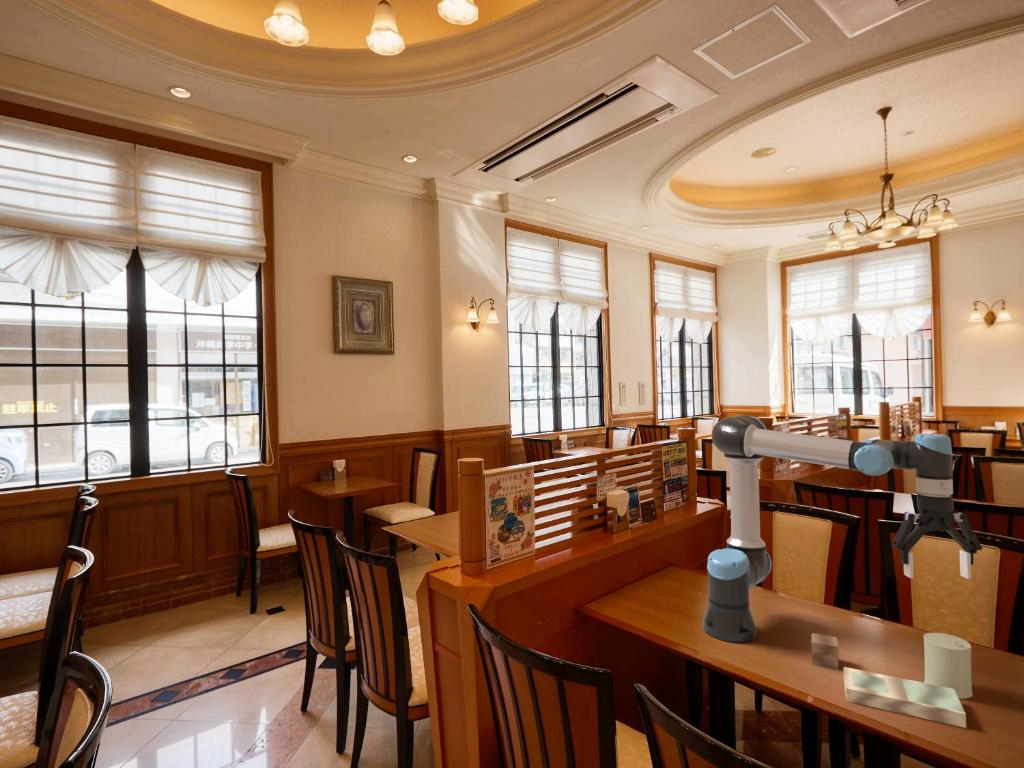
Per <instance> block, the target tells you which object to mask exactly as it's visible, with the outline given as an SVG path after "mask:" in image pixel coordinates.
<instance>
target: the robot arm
mask: <svg viewBox="0 0 1024 768" xmlns="http://www.w3.org/2000/svg"><path fill="white" fill-rule="evenodd" d="M711 440H712V443H713V446H715V448H716V449H717V450H719V451H720V452H721V453H723V455H724V456H723V457H724V459H725V460H727V462H728V463H729V464H728V465H729V490H730V491H729V492H730V524H731V525H730V528H731V529H730V530H731V533H730V536H729V538H727V539H726V548H722V549H720V548H719V549H715V550H713V551H711V552H710V553H709V555H708V557H707V564H706V565H707V566H706V569H707V591H708V592H707V595H708V597H707V598H708V601H707V605H706V609H705V612H704V615H703V619H702V629H703V631H704V632H705V633H706V632H707V633H708V636H710V637H713V638H715V639H718V640H722V641H726V642H732V643H744V642H749V641H753V640H754V639H755V638H757V625H756V622H755V620H754V616H753V613H752V611H751V608H750V589H752V588H753V587H755V586H756V585H758V584H760V583H762V582H763V581H764V580H765V579H766V578H767V577H768V576H769V574H770V572H771V570H772V559H771V556H770V554H769V552H767V549H766V548H767V545H766V542H765V541H764V540H763V539H762V538H761V519H760V518H761V517H760V516H761V515H760V514H761V512H760V484H759V482H760V480H759V463H760V462H761V461H762V460H764V457H771V458H777V459H778V458H779V459H783V460H790V461H796V462H802V463H803V462H804V463H810V464H816V465H821V466H828V467H835V468H841V469H846V470H851V471H852V470H853V471H857V472H861V473H863V474H865V475H867V476H881V475H884V474H887V473H888V472H889V471H890V470H892V469H895V470H897V469H899V470H910V471H911V470H912V471H913V470H914V471H915V491H916V492H918V493H917V494H916V508H917V512H916V513H913V512H908V511H905V512H904V513H903V520H902V523H901V525H900V526H899V528H898V530H897V532H896V534H895V536H894V539H893V541H892V542H891V547H892V548H894V549H897V550H899V556H900V557H899V558H900V559H899V561H900V563H901V564H903V575H904V576H906V577H908V578H909V579H914V552H912V551H911V550H912V548H913V547H914V546H915V545H916V544H917V543H918V542H919V541H920V540H921V538H922V537H924V535H925V534H927V533H929V531H930V532H937V531H939V532H945V531H946V533H947V534H948V535H949V536H950V537H951V538H952V539H953V540H954V541H955V542H956V543H957V544H958V546H960V548H962V549H959V572H960V574H959V576H961V577H963V578H965V579H966V580H972V570H971V569H972V566H974V560H975V559H974V558H975V557H974V555H975V554H977V552H978V551H982V550H983V547H982V545H981V543H980V541H979V539H978V537H977V535H976V534H975V532H974V530H973V529H972V527H971V525H970V523H969V519H968V515H967V514H966V513H963V512H959V511H956V512H955V513H953V512H954V508H955V507H954V506H955V505H954V497H953V496H952V495H953V494H954V486H953V485H954V483H953V482H954V481H953V478H954V477H953V450H952V449H953V448H952V440H951V437H949V435H946V434H939V433H917V434H915V436H914V439H913V440H907V441H906V440H892V439H891V440H889V439H888V440H887V439H878V438H877V439H864V440H863V441H854V440H847V439H838V438H832V437H825V436H817V435H810V434H809V435H808V434H801V433H796V432H795V433H793V432H787V431H778V430H771V429H767V427H766V425H765V423H764V422H763V421H761V420H760V419H759V418H758V417H755V416H751V415H744V414H743V415H736V416H728V417H724V418H721V419H720V420H718V421H717V422H716V423H715V424H714V425H713V428H712V430H711ZM917 520H918V522H917ZM954 521H955V522H956V523H957V525H958V527H959V528H960V530H961V532H962V534H963V535H962V534H961V533H959V531H958V529H957V528H956V527H955V525H953V522H954ZM915 522H917V523H916V524H915ZM914 524H915V526H914ZM913 527H914V529H913ZM912 529H913V530H912ZM963 536H964V537H965V538H964V537H963ZM707 633H706V634H707Z"/></svg>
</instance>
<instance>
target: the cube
mask: <svg viewBox="0 0 1024 768" xmlns="http://www.w3.org/2000/svg"><path fill="white" fill-rule="evenodd" d="M838 643H839V642H838V637H837V636H831V635H825V634H819V633H813V632H812V633H811V665H813V666H818V667H822V668H828V669H834V670H837V671H838V670H839V645H838Z"/></svg>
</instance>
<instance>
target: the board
mask: <svg viewBox="0 0 1024 768" xmlns="http://www.w3.org/2000/svg"><path fill="white" fill-rule="evenodd" d="M843 682H844V683H843V684H844V692H845V700H846V702H848V703H853V704H859V705H861V706H868V707H872V708H874V709H875V708H876V709H879V710H884V711H888V712H894V713H899V714H902V715H906V716H911V717H916V718H920V719H921V718H922V719H925V720H929V721H933V722H938V723H942V724H945V725H946V724H947V725H951V726H955V727H960V728H963V729H964V728H965V729H967V716H966V715H967V714H966V711H965V710H964V707H963V704H962V703H961V701H960V699H959V698H958V696H957V694H956V692H955V690H954V689H952V688H947V687H942V686H937V685H932V684H927V683H924V682H922V681H917V680H912V679H906V678H903V677H902V678H901V677H897V676H891V675H886V674H882V673H876V672H871V671H867V670H861V669H856V668H852V667H847V666H843Z"/></svg>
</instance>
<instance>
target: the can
mask: <svg viewBox="0 0 1024 768" xmlns="http://www.w3.org/2000/svg"><path fill="white" fill-rule="evenodd" d="M923 646H924V649H923V651H924V681H923V683H927V684H932V685H937V686H942V687H947V688H952V689H954V690H955V692H956V694H957V696H958V698H959V700H960V699H961V700H962V699H970V698H972V697H973V695H974V693H973V688H972V645H971V643H970V642H968V641H967V640H965V639H963V638H961V637H958V636H955V635H952V634H948V633H942V632H927V633H924V634H923Z"/></svg>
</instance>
